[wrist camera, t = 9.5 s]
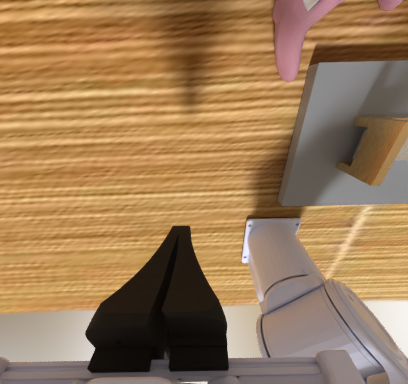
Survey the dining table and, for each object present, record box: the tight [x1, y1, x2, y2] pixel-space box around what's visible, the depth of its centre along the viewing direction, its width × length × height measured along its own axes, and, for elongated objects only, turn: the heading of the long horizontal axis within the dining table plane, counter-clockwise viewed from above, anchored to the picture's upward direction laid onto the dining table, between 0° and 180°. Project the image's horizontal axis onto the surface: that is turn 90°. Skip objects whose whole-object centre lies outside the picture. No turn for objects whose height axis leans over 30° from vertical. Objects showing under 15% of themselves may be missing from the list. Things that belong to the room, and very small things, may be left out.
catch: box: [336, 115, 408, 186], centre depth 15 cm, size 5×3×4 cm, turn 1°
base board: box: [277, 60, 408, 206], centre depth 18 cm, size 15×22×3 cm
